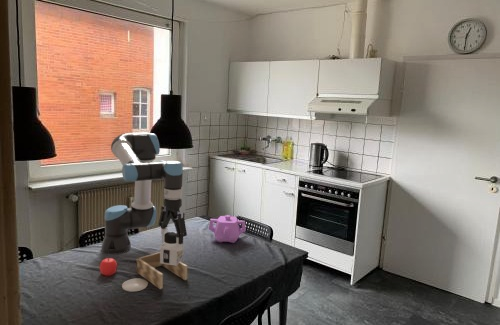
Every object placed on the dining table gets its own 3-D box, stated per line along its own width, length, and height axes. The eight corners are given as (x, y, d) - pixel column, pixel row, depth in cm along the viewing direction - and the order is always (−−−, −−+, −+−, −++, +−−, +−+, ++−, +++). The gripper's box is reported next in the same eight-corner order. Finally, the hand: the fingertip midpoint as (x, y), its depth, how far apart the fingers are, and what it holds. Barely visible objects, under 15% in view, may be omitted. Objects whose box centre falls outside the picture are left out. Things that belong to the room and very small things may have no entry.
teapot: (225, 248, 216) (226, 223, 214) (204, 239, 229) (205, 215, 226) (248, 240, 230) (250, 216, 228) (227, 231, 242) (228, 209, 240)
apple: (120, 271, 182) (120, 256, 181) (109, 279, 175) (109, 262, 173) (107, 268, 185) (107, 253, 183) (95, 275, 177) (95, 259, 176)
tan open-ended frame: (136, 272, 183) (136, 258, 181) (162, 263, 193) (162, 250, 191) (160, 289, 168) (160, 274, 167) (187, 279, 178) (187, 265, 177)
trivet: (117, 284, 170) (117, 283, 170) (140, 277, 178) (140, 276, 178) (129, 294, 162) (129, 293, 162) (152, 286, 170) (152, 285, 170)
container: (176, 266, 162) (177, 237, 160) (159, 263, 164) (160, 235, 161) (183, 258, 170) (183, 231, 167) (166, 256, 171) (167, 228, 169)
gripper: (150, 192, 166) (150, 240, 171) (181, 205, 151) (180, 257, 155) (165, 190, 172) (164, 236, 176) (196, 202, 156) (194, 252, 160)
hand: (171, 246), depth 166 cm, fingers closed on container, 10 cm apart
